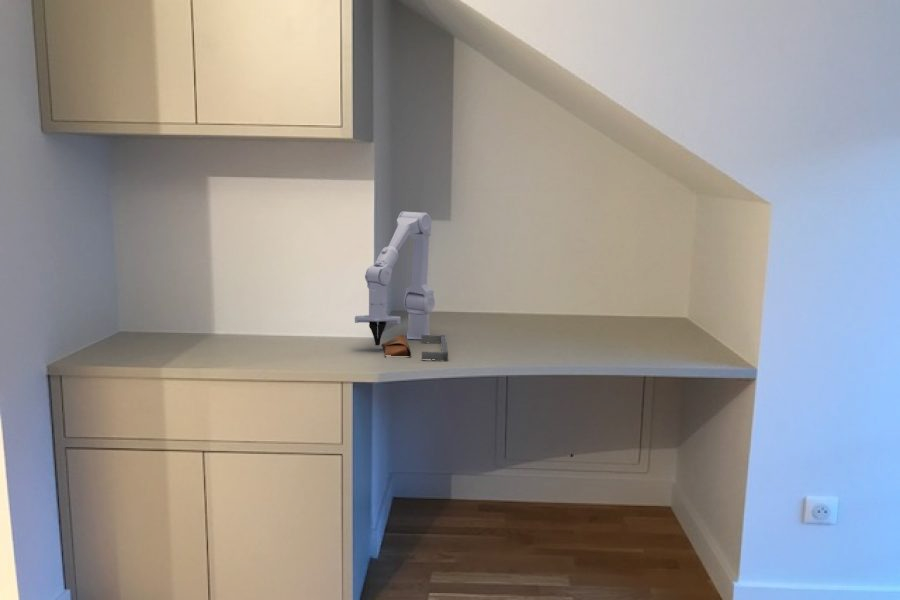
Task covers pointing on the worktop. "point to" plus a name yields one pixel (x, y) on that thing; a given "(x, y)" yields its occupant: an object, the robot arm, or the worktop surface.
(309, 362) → the worktop surface
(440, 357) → the keeper bracket
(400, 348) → the sunglasses case
